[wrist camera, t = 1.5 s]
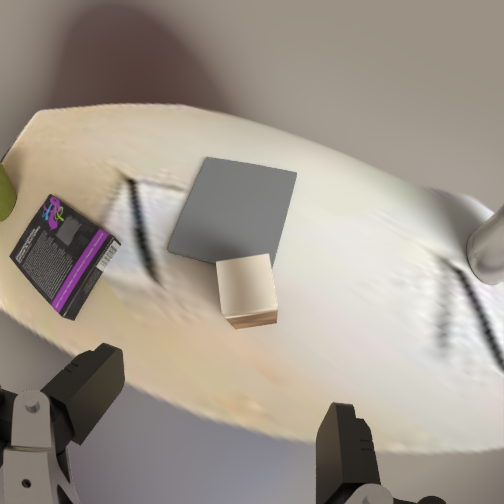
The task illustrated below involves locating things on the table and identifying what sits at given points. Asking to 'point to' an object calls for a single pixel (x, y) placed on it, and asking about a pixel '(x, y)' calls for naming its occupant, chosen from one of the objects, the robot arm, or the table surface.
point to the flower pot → (6, 195)
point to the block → (247, 291)
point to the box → (63, 256)
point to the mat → (233, 212)
